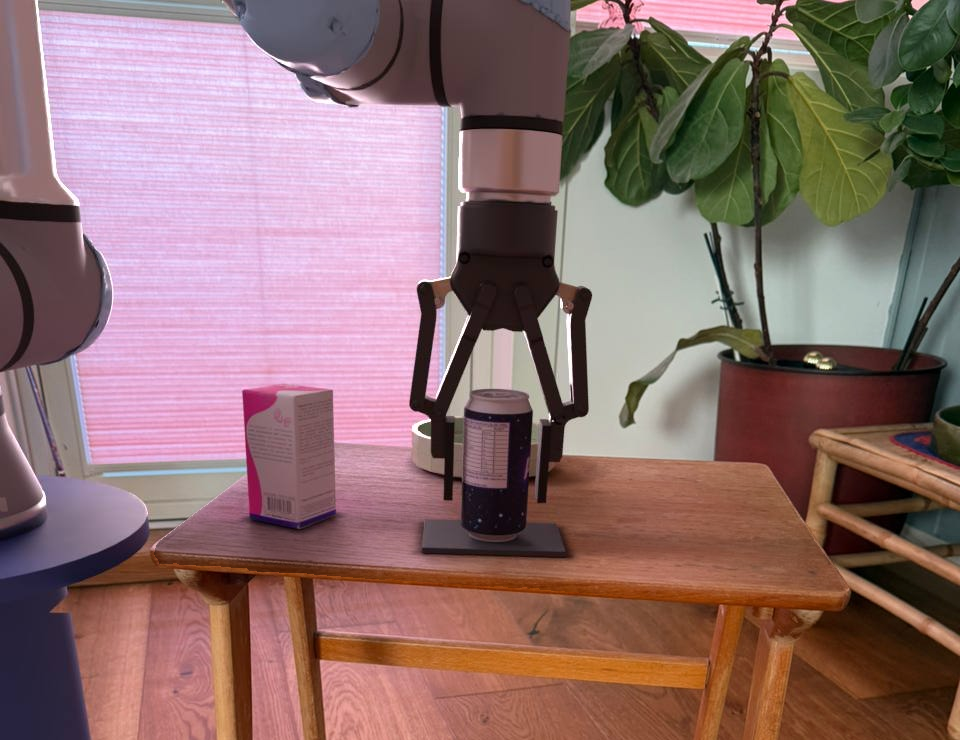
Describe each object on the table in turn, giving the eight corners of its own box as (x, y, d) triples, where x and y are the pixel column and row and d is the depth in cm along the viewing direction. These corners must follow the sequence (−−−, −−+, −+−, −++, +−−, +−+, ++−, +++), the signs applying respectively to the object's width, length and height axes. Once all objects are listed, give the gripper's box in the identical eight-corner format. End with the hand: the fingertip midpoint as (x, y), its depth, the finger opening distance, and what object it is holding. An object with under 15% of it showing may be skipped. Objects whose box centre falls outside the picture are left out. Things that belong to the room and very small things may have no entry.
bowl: (408, 481, 96) (409, 443, 94) (414, 447, 111) (415, 414, 109) (561, 486, 97) (564, 449, 95) (546, 451, 111) (549, 418, 110)
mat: (421, 553, 75) (421, 547, 75) (424, 524, 83) (424, 519, 82) (565, 557, 76) (566, 551, 76) (555, 528, 83) (556, 523, 83)
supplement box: (338, 514, 84) (335, 388, 79) (298, 530, 79) (292, 396, 75) (288, 504, 87) (282, 380, 82) (247, 519, 82) (238, 389, 77)
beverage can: (532, 543, 77) (542, 399, 72) (467, 546, 76) (472, 399, 71) (516, 523, 82) (523, 387, 77) (454, 525, 81) (458, 387, 76)
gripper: (632, 206, 72) (604, 489, 81) (377, 195, 71) (379, 482, 81) (650, 204, 65) (618, 513, 75) (369, 192, 64) (372, 506, 74)
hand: (494, 497), depth 78 cm, fingers open, 7 cm apart
